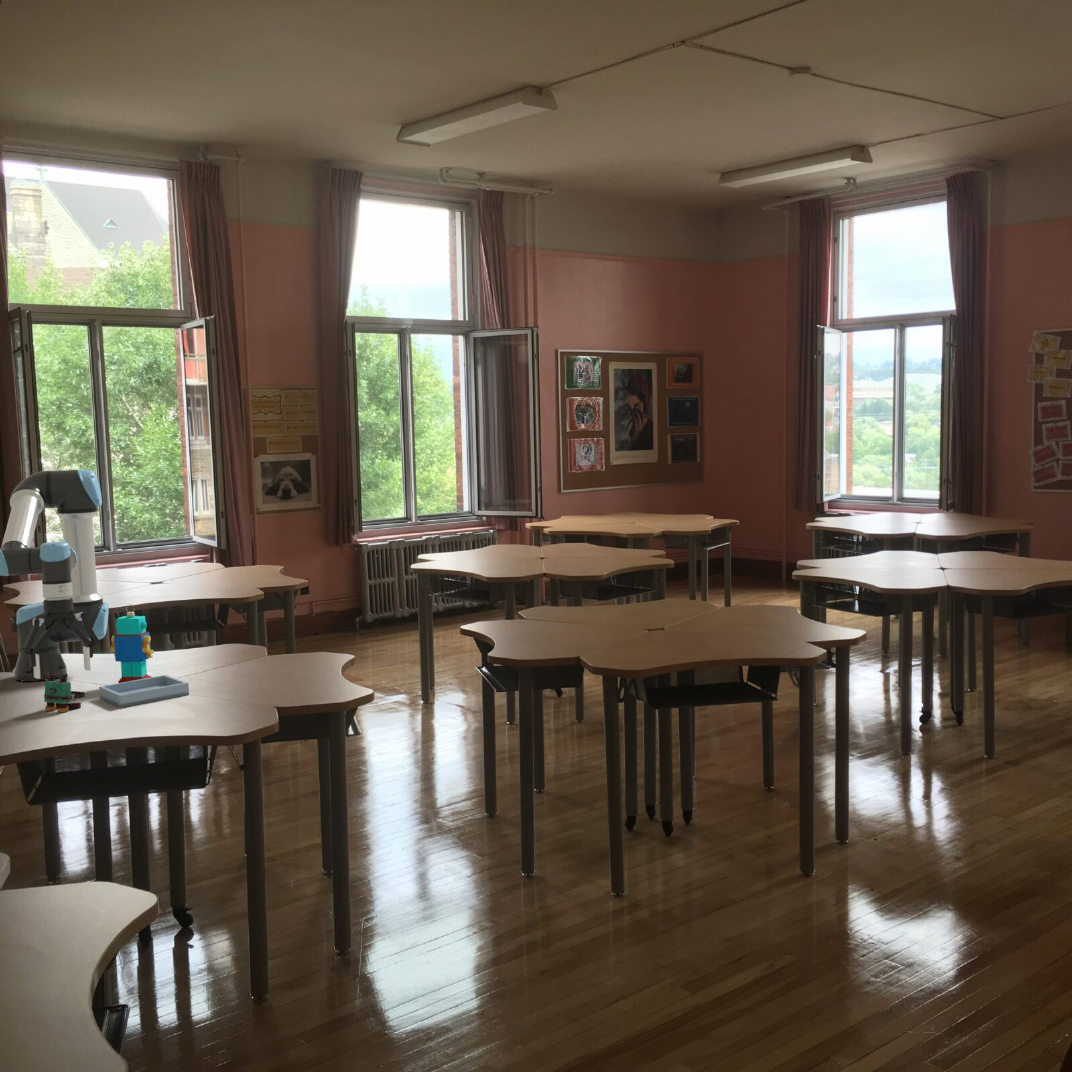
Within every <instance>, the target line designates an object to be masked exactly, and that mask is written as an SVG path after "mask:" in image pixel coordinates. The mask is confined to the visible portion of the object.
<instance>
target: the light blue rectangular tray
mask: <svg viewBox="0 0 1072 1072" xmlns="http://www.w3.org/2000/svg"><path fill="white" fill-rule="evenodd" d="M189 687H190V685H189V682H187V681H184V680H182V679H179V678H176V677H173V676H170V675H168V674H162V675H158V676H151V678H145V679H140V680H134V681H128V682H123V683H114V684H106V685H102V686H101V685H100V686H98V690H99V699H100V700H102V701H104V702H106V703H109V704H111V705H114V706H116V707H118V708H120V709H123V708H127V707H133V706H132V705H134V706H138V705H143V704H142V703H144V704H147V703H153V702H152V701H154V702H159V701H163V700H162V699H164V700H168V699H173V698H172V697H174V698H178V696H180V697H183V695H185V696H188V695H190V690H189V689H190V688H189Z"/></svg>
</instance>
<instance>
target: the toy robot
mask: <svg viewBox="0 0 1072 1072" xmlns="http://www.w3.org/2000/svg"><path fill="white" fill-rule="evenodd" d="M129 605H132V606H133V604H132V603H129V604H127V605H126V607H125V609H126V611H127V612H126V615H125V616H120V617H118V618H116V622H115V625H114V626H115V628H116V630H117V631H116V632H117V634H115V635H112V636H111V639H110V640H111V646H110V652H111V653H113V655H114V658H115V660H114V661H115V662H118V663H119V662H120V669H121V677H120V678H119V680H118V683H123V682H128V681H134V680H140V679H145V678H151V677H152V676H151V675H148V673H147V672H148V670H147V660H148V659H153V658H154V656H153V654H155V651H154V649H151V640H152V639H151V638H152V637H151V635H150V633H151V632H149V631H147V626H148V624H147V622H146V616H145V615H141V616H139V615H136V614H135V609H133V611H128V609H127V608H128V606H129Z"/></svg>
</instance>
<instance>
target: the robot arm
mask: <svg viewBox="0 0 1072 1072" xmlns="http://www.w3.org/2000/svg"><path fill="white" fill-rule="evenodd" d="M102 497H103V496H102V491H101V486H100V482H99V479H98V477H97V474H96V473H95V472H94V471H93V470H90V469H66V470H41V471H38V472H34V473H32V474H31V475H28V476H27V477H25V478H24V479H23V480H22V481H20V482H19V483H18V484H17V485H16V486H15V488H14V489H13V491H12V492H11V494H10V499H9V506H10V508H11V510H10V513H9V517H8V520H7V525H6V529H5V533H4V536H3V539H2V544H1V547H0V577H1V576H4V577H8V576H9V577H10V576H24V575H26V576H27V575H41V585H42V598H43V601H40V602H35V603H31V604H27V605H24V606H22V607H19V609H18V610H17V611H16V622H15V624H16V631H17V645H18V657H17V661H16V664H15V668H14V672H13V675H14V676H13V677H14V678H15V679H17V680H21V681H20V682H23V681H33V682H40V681H39V680H44V681H46V680H45V679H48V676H47V673H48V672H52V673H55V674H56V675H55V678H56V679H59V676H60V675H63V674H68V670H67V665H66V662H65V660H64V658H63V655H62V653H61V651H60V643H67V642H68V643H70V642H82V643H84V644H83V645H85V646H83V647H82V652H83V653H82V654H83V655H82V656H83V668H84V670H85V671H88V672H89V671H92V669H91V668H92V667H91V659H92V658H93V657H94V649H93V648H94V646H95V645H96V644H97V645H98V644H99V643H100V640H102V639H103V638H104V637H105V636H106V633H107V629H108V623H109V611H110V610H109V603H108V602H106V601H105V602H104V598H103V596H102V595H100V593H98V585H97V584H98V583H97V568H96V565H97V564H96V554H95V553H96V552H95V539H94V538H95V537H94V536H95V535H94V522H93V521H94V520H93V519H94V517H95V515H96V514H98V508H99V507H102V505H103V500H102ZM44 509H56V513H57V515H58V516H59V517H61V518H62V523H63V525H62V526H63V538H64V539H63V540H64V541H51V542H48V541H47V542H43V543H42V544H41V545H40V546H39V547H32V544H33V540H34V536H35V532H36V531H35V530H36V528H37V527H36V526H37V522H38V518H39V514H41V513H42V511H44ZM55 678H54V680H56V679H55ZM15 679H14V680H15ZM17 680H16V681H17ZM22 680H23V681H22Z"/></svg>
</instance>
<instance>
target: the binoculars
mask: <svg viewBox="0 0 1072 1072" xmlns="http://www.w3.org/2000/svg"><path fill="white" fill-rule="evenodd" d="M55 675H56V674H55V673H52V672H48V673H47V676H48V680H45V684H44V695H43V698H44V702H46V705H45V706H44V710H45V712H51V711H54V710H56V709H57V713H59V714H60V713H61V714H62V713H66V712H68V711H69V709H73V708H82V703H81V702H75V701H76V699H80V698H81V699H82V698H85V697H86V692H84V691H77V690H72V687H71V686H72V683H71V681H67V680H68V679H67V678H68V673H67V674H63V675H60V676H59V678H60V679H59V678H58V679H59V681H58V680H56V679H54V678H55ZM72 701H74V702H72Z"/></svg>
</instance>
